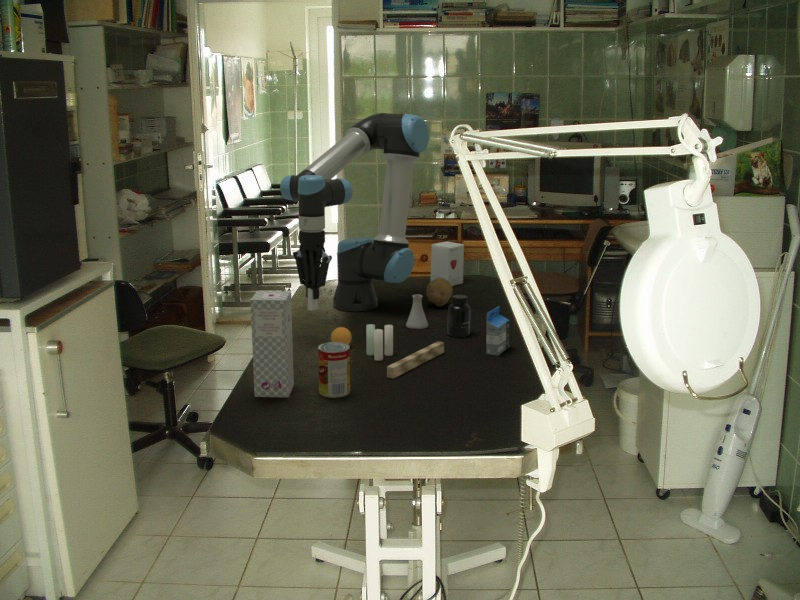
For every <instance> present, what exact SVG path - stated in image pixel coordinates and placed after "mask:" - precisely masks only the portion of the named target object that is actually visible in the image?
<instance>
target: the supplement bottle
mask: <svg viewBox="0 0 800 600" xmlns="http://www.w3.org/2000/svg"><path fill="white" fill-rule="evenodd" d="M468 298H469V297H468V296H467V295H464V294H454V295H453V294H452V295H451V304H449V306H448V308H447V335H448V336H450V337H453V338H465V337H468V336H469V335H470V331H471V330H470V329H471V306H470V305H469V304H468V303H469V302H468Z"/></svg>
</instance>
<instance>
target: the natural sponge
mask: <svg viewBox="0 0 800 600" xmlns="http://www.w3.org/2000/svg"><path fill="white" fill-rule="evenodd" d="M453 291H454V289H453V286H452V285H451V284H450V283H449V281H448V280H446V279H443V278H436V279H434V280H432V281H431V280H430V281H429V283H428V284H427V286H426V289H425V295H426V299H428V301H430V302H431V303H433V304H434V305H435V307H436V306H437V307H438V308H439V307H443V306H445V305H446V304H447V303H448V302H449V300H450V298H452V296H453Z"/></svg>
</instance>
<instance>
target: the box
mask: <svg viewBox="0 0 800 600" xmlns="http://www.w3.org/2000/svg"><path fill="white" fill-rule="evenodd" d="M292 310H293V308H292V291H291V290H282V291H281V290H256V292H255V293H254V294H253V296H252V297H251V298H250V319H251V320H250V323H251V343H252V366H253V367H252V368H253V371H252V372H253V391H254V397H255V398H289V397H290V395H291V393H292V390H293V388H294V385H295V382H294V381H295V380H294V379H295V378H294V377H295V375H294V351H293V350H294V349H293V347H294V346H293V313H292V312H293V311H292Z"/></svg>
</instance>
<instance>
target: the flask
mask: <svg viewBox="0 0 800 600" xmlns="http://www.w3.org/2000/svg"><path fill="white" fill-rule="evenodd" d="M411 296H412V306H411V310H410V312H409V316H408V317H407V318H408V319H407V321H406V324H405V327H406V328H407V329H412V330H413V329H414V330H421V329H423V330H424V329H427V328H428V327H429V323H428V320H427V316H426V314H425V311H424V308H423V304H422V299H423V297H424V296H423V295H422V294H412V295H411Z"/></svg>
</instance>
